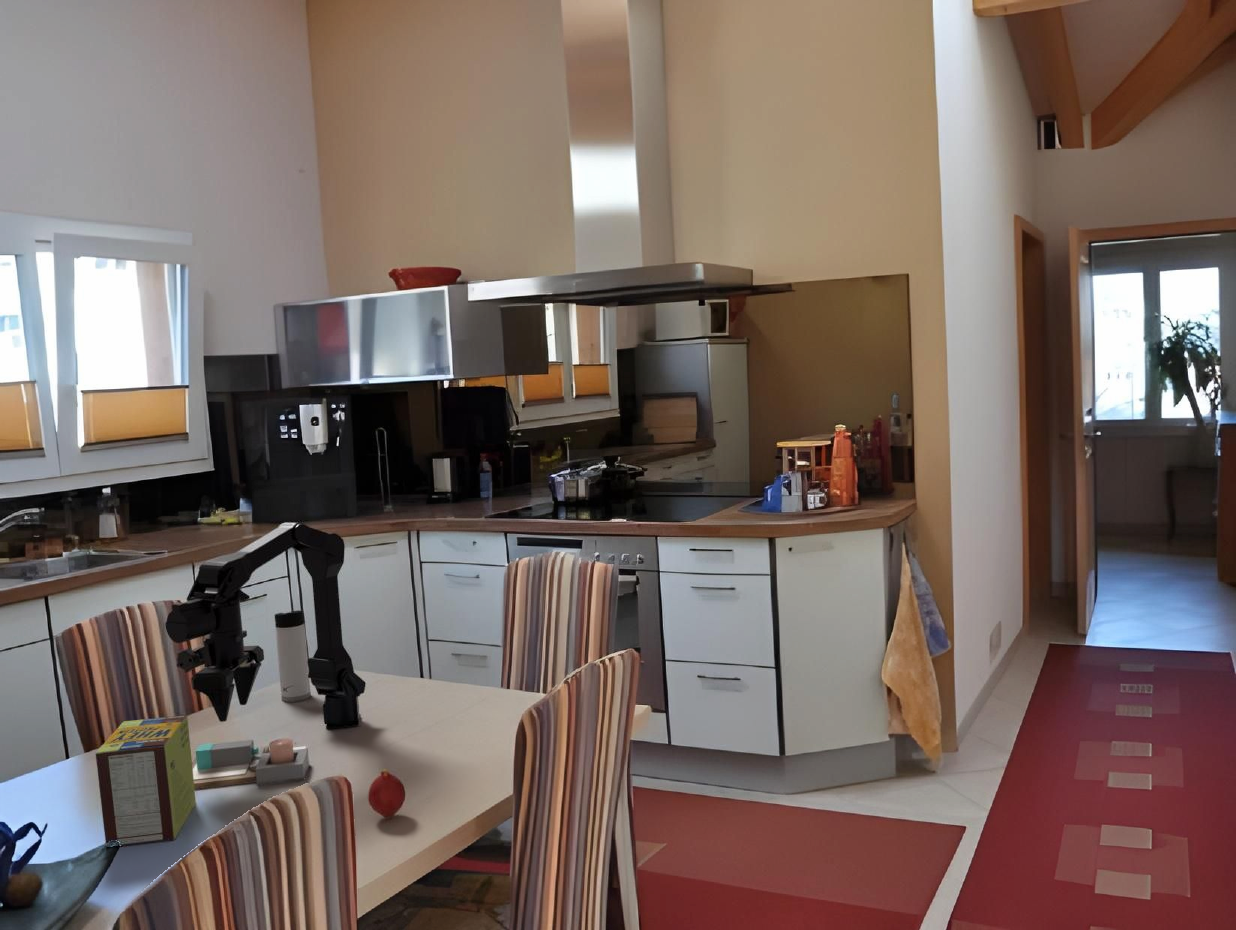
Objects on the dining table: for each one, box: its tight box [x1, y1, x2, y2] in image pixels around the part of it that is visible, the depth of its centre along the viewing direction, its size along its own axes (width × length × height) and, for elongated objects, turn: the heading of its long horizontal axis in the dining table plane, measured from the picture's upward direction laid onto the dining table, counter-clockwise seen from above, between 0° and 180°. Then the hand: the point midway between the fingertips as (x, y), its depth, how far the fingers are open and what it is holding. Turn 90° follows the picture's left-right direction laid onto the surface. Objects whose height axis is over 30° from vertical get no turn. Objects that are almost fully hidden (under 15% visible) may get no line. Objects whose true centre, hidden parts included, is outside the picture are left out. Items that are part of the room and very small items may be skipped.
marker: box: [195, 739, 259, 770], centre depth 198 cm, size 10×4×4 cm, turn 100°
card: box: [293, 745, 307, 750], centre depth 204 cm, size 6×5×1 cm
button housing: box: [256, 748, 310, 787], centre depth 193 cm, size 8×8×3 cm
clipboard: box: [192, 745, 270, 790], centre depth 198 cm, size 13×16×2 cm
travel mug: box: [274, 609, 312, 703], centre depth 239 cm, size 6×7×20 cm
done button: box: [268, 738, 294, 765], centre depth 193 cm, size 4×4×4 cm
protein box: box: [95, 714, 196, 847], centre depth 174 cm, size 10×15×16 cm
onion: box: [367, 769, 406, 819], centre depth 172 cm, size 6×6×8 cm
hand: (233, 712), depth 196 cm, fingers open, 9 cm apart
